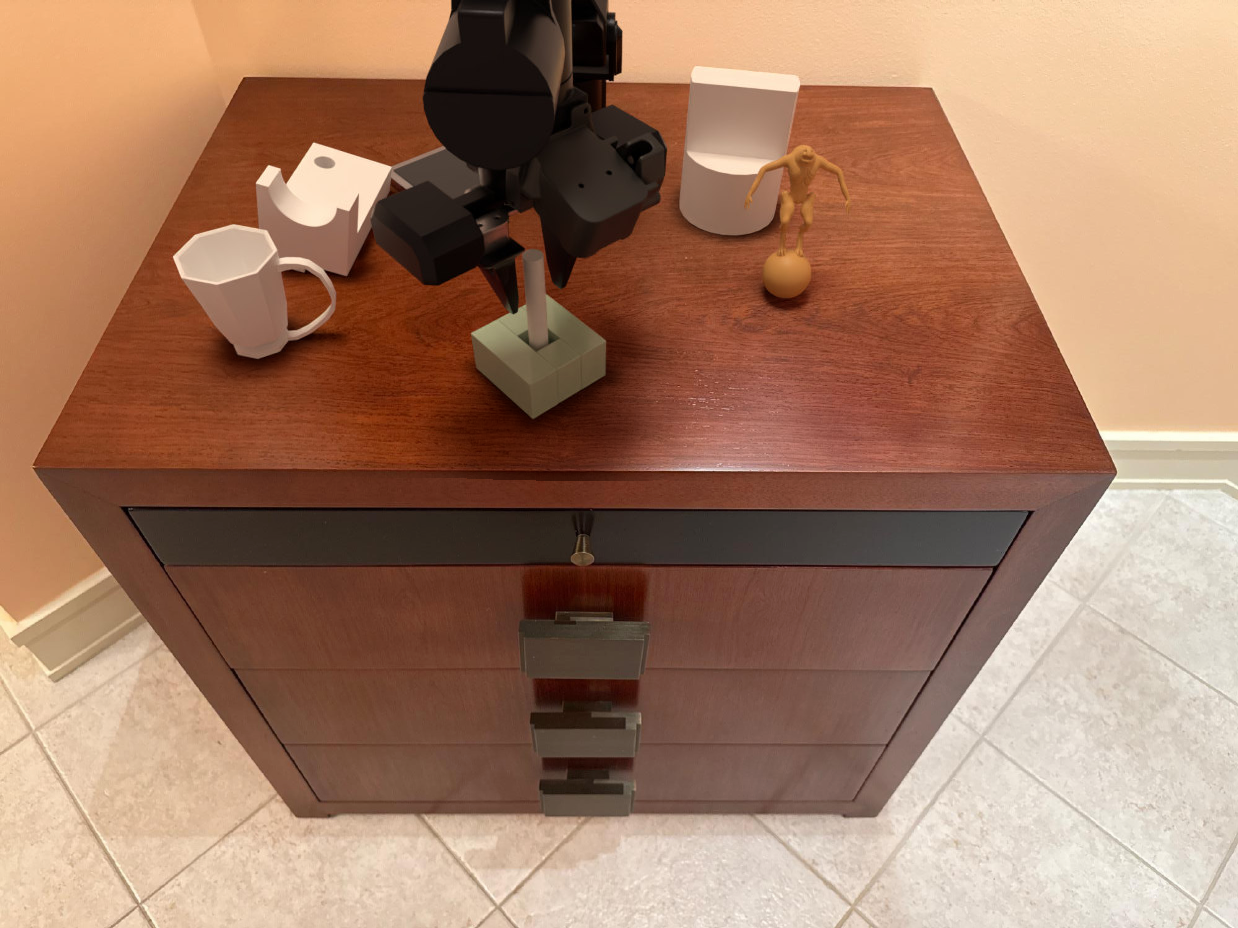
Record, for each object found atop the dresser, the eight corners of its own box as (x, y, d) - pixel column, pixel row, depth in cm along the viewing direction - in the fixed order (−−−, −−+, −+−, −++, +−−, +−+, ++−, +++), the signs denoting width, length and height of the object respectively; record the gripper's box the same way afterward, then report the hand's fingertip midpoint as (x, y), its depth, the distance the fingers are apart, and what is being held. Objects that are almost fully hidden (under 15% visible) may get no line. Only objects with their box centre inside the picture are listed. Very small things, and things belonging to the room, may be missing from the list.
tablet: (501, 131, 84) (500, 122, 83) (569, 176, 78) (569, 166, 78) (383, 178, 77) (381, 169, 77) (449, 230, 72) (447, 220, 72)
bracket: (346, 284, 69) (349, 211, 63) (261, 260, 67) (255, 183, 62) (389, 199, 77) (394, 127, 71) (313, 176, 76) (313, 101, 70)
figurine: (734, 306, 67) (757, 173, 57) (730, 261, 70) (750, 130, 61) (834, 310, 67) (873, 178, 57) (825, 265, 70) (860, 135, 61)
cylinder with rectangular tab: (776, 186, 78) (800, 59, 69) (773, 240, 73) (799, 110, 63) (684, 176, 79) (696, 50, 70) (674, 229, 73) (685, 99, 64)
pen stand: (547, 328, 64) (545, 293, 62) (605, 375, 61) (606, 340, 58) (475, 368, 61) (470, 333, 59) (532, 419, 58) (529, 385, 55)
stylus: (542, 362, 62) (534, 246, 54) (553, 372, 61) (547, 255, 53) (527, 371, 61) (517, 254, 53) (539, 380, 61) (530, 264, 52)
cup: (222, 313, 64) (182, 226, 58) (350, 304, 66) (324, 218, 59) (206, 374, 60) (161, 287, 54) (344, 363, 61) (315, 277, 55)
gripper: (463, 196, 36) (495, 429, 48) (746, 73, 44) (713, 299, 56) (336, 101, 41) (394, 333, 53) (611, 7, 49) (607, 227, 61)
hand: (535, 298), depth 56 cm, fingers open, 4 cm apart
